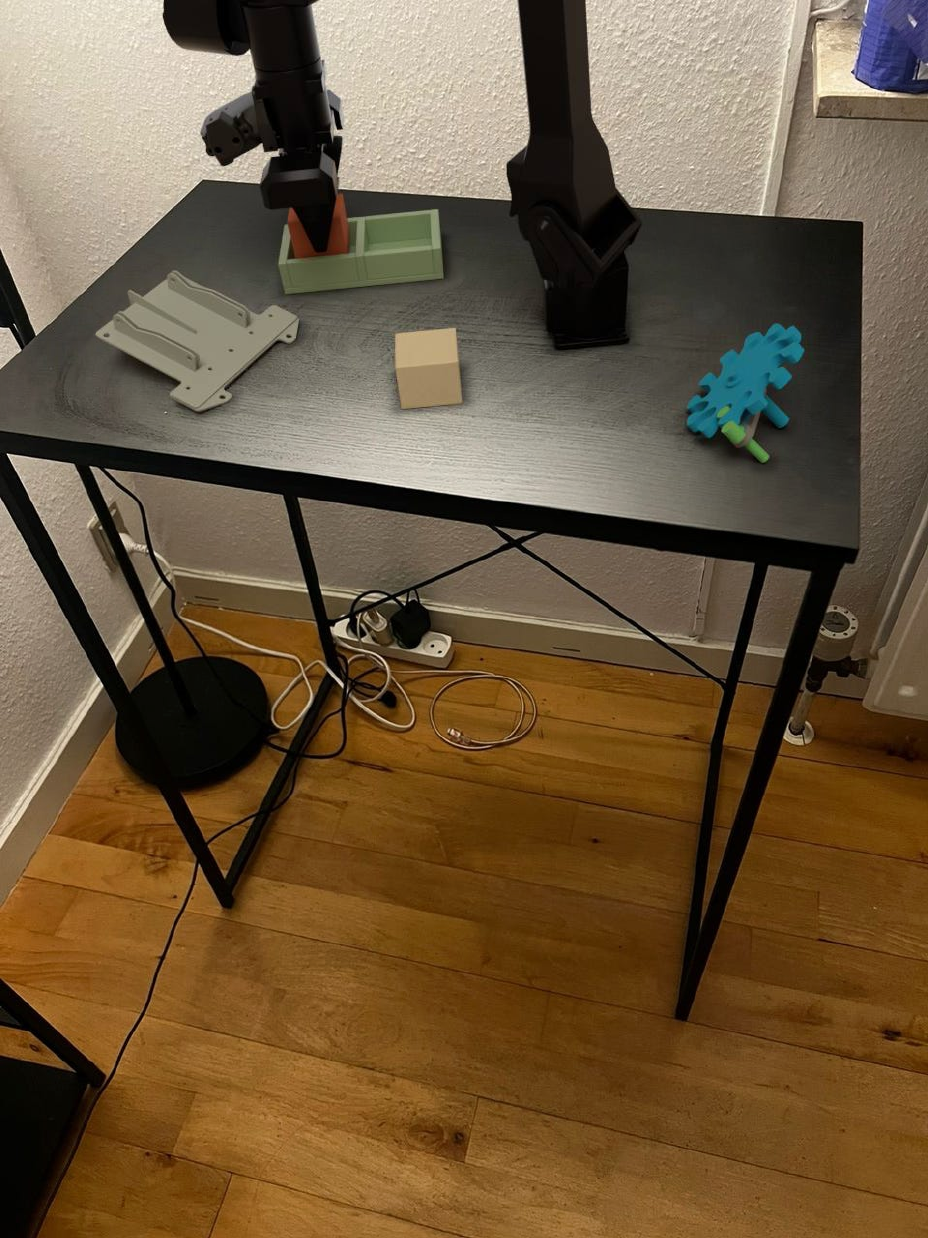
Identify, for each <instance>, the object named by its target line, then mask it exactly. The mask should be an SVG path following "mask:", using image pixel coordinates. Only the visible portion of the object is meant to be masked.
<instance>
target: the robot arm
mask: <svg viewBox="0 0 928 1238" xmlns="http://www.w3.org/2000/svg"><path fill="white" fill-rule="evenodd" d="M319 1H320V0H163V2H162V3H163V5H162V7H163V12H162V15H161V16H162V20H163V24H164V27H165V29H166V32H167V34H168V36H169V37H170V39H171V40H172V41H173V42H174V44H175V45H176V46H177V47H179V48H181V49H182V50H186V51H192V52H199V53H200V52H201V53H207V54H208V53H209V54H217V55H226V56H234V57H239V56H243V55H245V54H247V53H248V52H249V51H250V56H251V60H252V65H253V70H254V73H255V76H254V77H255V81H254V84H253V85H252V87H251V91H249V92H246V93H244V94H242V95H240V96H238V97H236V98H235V99H233V100H231V101H229V102H227V103H226V104H224V105H222V106H220V107H219V108H217V109H215V110H213V111H212V112H210V113H209V114H207V116H206V117H205V118H204V120H203V123H202V125H201V129H200V132H199V133H200V136H201V139H202V141H203V143H204V145H205V150H204V151H205V154H206V155H207V156H208V157H212V158H213V157H215V159H216V161H217V162H218V164H219V165H220V166H221V167H227V166H230V165H231V164H233V163H234V161H235V159H237V158H239V157H241V156H243V155H245V154H247V153H248V152H250V151H252V150H254V149H256V148H257V147H259V146H260V145H261V144H262V145H261V146H262V149H263V152H264V153H272V152H278V155H277V156H275V155H274V156H270V158H269V159H268V160H267V162H266V164H265V165H264V167H263V169H262V172H261V176H260V181H259V189H260V195H261V198H262V202H263V207H264V208H265V209H268V210H270V211H271V210H272V211H273V210H281V209H290V208H293V210H294V212H295V213H296V215H297V217H298V219H299V221H300V223H301V225H302V227H303V229H304V231H305V233H306V235H307V237H308V239H309V241H310V243H311V245H312V247H313V249H314V251H315V252H317V253H319V252H326V251H327V247H328V241H329V236H330V230H331V225H332V220H333V215H334V209H335V204H336V200H337V194H339V187H340V176H338V175H339V169H340V163H341V158H342V151H343V142H344V137H343V135H338V134H337V135H334V133H335V129H336V130H337V131H342V130H344V123H345V117H344V110H343V104H342V99H341V98H340V97H339V96H338V95H337V94H335V93H334V92H333V91H332V90H331V89H327V85H326V78H327V69H326V62H325V59H322V57H321V56H322V55H321V51H320V46H319V39H318V34H317V28H316V23H315V17H314V12H313V6H312V5H314V4H315V3H317V2H319ZM516 2H517V12H518V22H519V31H520V41H521V52H522V63H523V76H524V83H525V85H524V86H525V95H526V105H527V114H528V123H529V124H528V127H529V133H528V139H527V144H526V145H525V146H524V147H523V148H522V149H521V150H519V151H518V152H517V153H516V154H515V155H514V156H513V157H512V158H511V159H509V160H508V161H506V165H505V166H506V167H505V168H506V169H505V171H506V172H505V173H506V179H507V182H508V186H509V191H510V196H511V198H510V200H511V205H510V208H509V213H508V215H509V217H511V218H513V217H515V216H516V222H517V226H518V229H519V232H520V234H521V236H522V238H523V240H525V241H527V242H528V245H529V246H530V249H531V253H532V256H533V258H534V261H535V263H536V266H537V269H538V272H539V274H540V278H541V279H542V308H543V312H542V313H543V315H542V316H543V320H544V321H543V322H544V325H545V330H546V332H548V334H549V333H550V334H551V338H552V344H553V347H554V349H556V350H562V349H563V350H564V349H574V348H575V349H576V348H586V347H595V346H606V345H614V344H615V345H616V344H625V343H629V342H630V337H631V334H630V331H629V328H628V325H627V310H628V309H627V308H628V291H629V290H628V289H629V276H630V275H629V274H630V273H629V272H630V264H629V261H628V259H627V255H626V252H625V251H626V250H627V249H628V248H629V246H632V245H633V243H634V242H635V241H636V240H637V239H636V238H637V236H638V234H639V232H640V229H641V227H642V225H643V221H642V219H641V217H640V216H639V215H638V214H637V213H636V211H635V210H634V209H633V207H632V206H631V205H630V203H629V202H628V201H627V199H626V198H625V197H624V196H623V194H622V193H621V192H620V191H619V189H618V188H617V187H616V182H615V176H614V171H613V166H612V161H611V156H610V150H609V147H608V145H607V144H606V141H605V140H604V138H603V135H602V134H601V132H600V130H599V128H598V126H597V124H596V123H595V121H594V118H593V113H592V99H591V98H592V97H591V95H592V94H591V79H590V61H589V60H590V59H589V57H590V56H589V41H588V39H589V37H588V21H587V3H586V0H516Z"/></svg>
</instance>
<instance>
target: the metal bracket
mask: <svg viewBox="0 0 928 1238" xmlns="http://www.w3.org/2000/svg"><path fill="white" fill-rule="evenodd" d="M127 296H128V300H129V303H130V306H128V307H127V308H126V309H124V310H119V311H118V312H117V313H116V314H114V315H113V316H112V319H111V320H110V321H109V322H108V323H106V324H105V325H103V326H102V327H101V328H100V329H99V330H97V331H96V332H95V337H96V338H97V339H99V340H101V341H103V342H105V343H107V344H109V345H111V346H112V347H114V348H116V349H118V350H120V351H121V352H124V353H125V354H127V355H129V356H131V357H133V358H134V359H137V360H138V361H141V362H142V363H144V364H146V365H148V366H149V367H152V368H154V369H155V370H157V371H159V372H161V373H163V374H165V375H167V376H169V377H170V378H172V379H174V380H176V381H178V382H179V383H180V384H179V385H177V386H176V387H175V388H174V389H173V390H172V391H170V393H169V396H170V398H171V399H173V400H174V401H176V402H178V403H180V404H182V405H184V406H186V407H187V408H189V409H191V410H193V411H195V412H197V413H200V412H203V411H207V410H211V409H212V408H215V407H218V406H221V405H224V404H227V403H229V402H230V401H231V400H232V399H233V395H232V393H230V392H229V391H227V390H225V388H227V387H228V386H229V385H230V384H231V383H233V381H235V379H237V377H239V376H240V375H241V374H242V373H243V372H244V371H246V370H247V369H248V368H249V367H250V366H251V365H252V364H253V363H254V362H255V361H256V360H257V359H259V358H260V357H261V356H262V355H263V354H264V353H266V351H267V350H269V348H271V347H272V346H273V345H275V343H276V342H278V341H281V342H284V343H285V344H288V345H291V344H292V343H294V342H295V341H296V339H297V333H298V328H299V324H300V319H299V318H298V316H297V315H296V314H294V313H292V312H290V311H288V310H286V309H284V308H282V307H280V306H279V305H275V304H272V305H270V306H269V307H267V308H266V309H265V310H264V311H263V312H262V313H260V314H257V313H256V312H253V311H251V310H249V308H248V307H247V306H246V305H244V304H242V303H240V302H238V301H236V300H234V299H232V298H230V297H229V296H226V295H224V294H223V293H220V292H219V291H216V290H214V289H211V288H208V287H205V286H202V285H201V284H199V283H197V282H195V281H193V280H191V279H189V278H187V277H185V276H183V274H182V273H180V272H179V271H178V270H172V271H171V272H170V273H168V274H167V277H166V279H164V280H163V281H161V282H160V283H159V284H158V285H156V286H155V287H154V288H152V289H151V290H150V291H148V292H147V293H145V295H143V296H142V295H140V294H139V293H136V292H135V291H133V290H131V289H129V290H128V291H127ZM221 397H224V398H221Z"/></svg>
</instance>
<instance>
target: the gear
mask: <svg viewBox="0 0 928 1238" xmlns="http://www.w3.org/2000/svg"><path fill="white" fill-rule="evenodd" d="M801 341H802V333H801V332H800V331H799V330H798V328H797V327H795V325H790V326H789V327H788V328H787V329H785V327H784V326H783V325H781V324H780V323H776V322H775V323H773V325H771V326H770V328H769V329H768V330H767V332H766V333H765V335H763V334H762V333H761V332H760V331H755V332H753V333H751V334H749V335H748V336H746V338H745V340H744V343H743V344H744V345H743V347H742V348H741V349H742V350H741V352H740V353H739V354H738V353H737V352H736V351H735V350H734V348H732V349H730V350H729V351H727V352H726V353H725V354H723V355H722V356H721V357H720V359H719V362H720V364H721V365H722V369H721V372H720V374H719V375H718V376H716V375H714V374H713V372H711V371H710V372H708V373H707V374H706V375H705V376H704V377H703V378H702V379H701V380H700V381H699V383H698V386H699V387H700V388H701V389H702V390H703V391H704V392H705V393H708V394H706V396H704V397H701V396H700V395H699V394H696V395H694V396H692V398H691V399H690V401H689V402H688V404H687V406H686V410H688V411H689V413H690V415H689V416H688V417H687V420H686V426H687V427H688V428H689V429H690V430H691V431H692V432H693V433H697V432H700V433H701V434H702V435H703V436H704V437H706V438H707V439H710V438H712V437H714V435H715V433H716V432H717V431H718V428H719V427H720V428H721V433H722V434H723V435H725V437H726V438H727V439H728V440H729V442H730V443H732V445H734V447H736V448H738V449H739V448H743V447H745V449H747V450H748V451H749V452H750V453H751V455H753V456H754V457H755V459H757V460H758V462H760V463H761V464H765V463H766V462H768V460H769V459H770V454H768V452H766V451H765V450H764V449H763V447H762V446H760V445H759V444H758V443H757V442H756V441H755V440H754V439H753V437H754V435H755V431H756V428H757V425H758V422H759V418H760V415H761V412H762V413H763V414H764V415H765V416H766V417H767V418H768V419H769V421H770V422H772V424H774V425H775V426H776V427H777V428H778V429H781V428H784V427H785V426H786V425H787V424H788V423H789V421H790V418H789V417H788V415H787V414H785V412H784V411H783V410H781V409H780V407H779V406H778V405H777V404H776V403H775V402H774V401H773V400H772V399H771V398H770V397H769V396H768V395H767V391H768V389H767V386H768V385H769V384H771V385H772V386H773V387H774V388H775V389H776V390H781V389H783V388H784V387H785V385H787V383H788V382H790V381H791V379H792V378H793V376H792V374H791V373H790V372H789V371H788V370H787V369H786V368H785V366H781V365H782V364H783V363H785V362H788V364H789V365H795V364H797V363H799V361H800V360H801V358H802V356H803V354H804V352H805V349H804V347H803V346H802V345H801V344H800V342H801Z"/></svg>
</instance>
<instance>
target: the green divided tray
mask: <svg viewBox="0 0 928 1238" xmlns="http://www.w3.org/2000/svg"><path fill="white" fill-rule="evenodd" d="M347 221H348V227H349V233H350V234H349V249H348V254H340V255H330V256H320V257H310V258H300V259H295V255H294V250H293V246H292V242H291V237H290V233H289V228H288V224H287V223H286V224H284V226H283V234H282V240H281V247H280V251H279V258H278V265H277V266H278V270H279V274H280V278H281V282H282V286H283V289H284V290H283V291H284V295H293V294H303V293H304V294H305V293H312V292H313V293H314V292H323V291H333V290H343V289H354V288H364V287H373V286H383V285H393V284H403V283H412V282H413V283H414V282H422V281H423V282H424V281H433V280H443V279H445V276H444V262H443V261H444V259H443V248H442V247H443V246H442V233H441V226H440V225H441V224H440V213H439V209H438V208H435V209H427V210H426V209H424V210H416V211H406V212H396V213H395V212H394V213H386V214H376V215H375V214H374V215H367V216H358V217H356V216H355V217H347Z"/></svg>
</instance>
